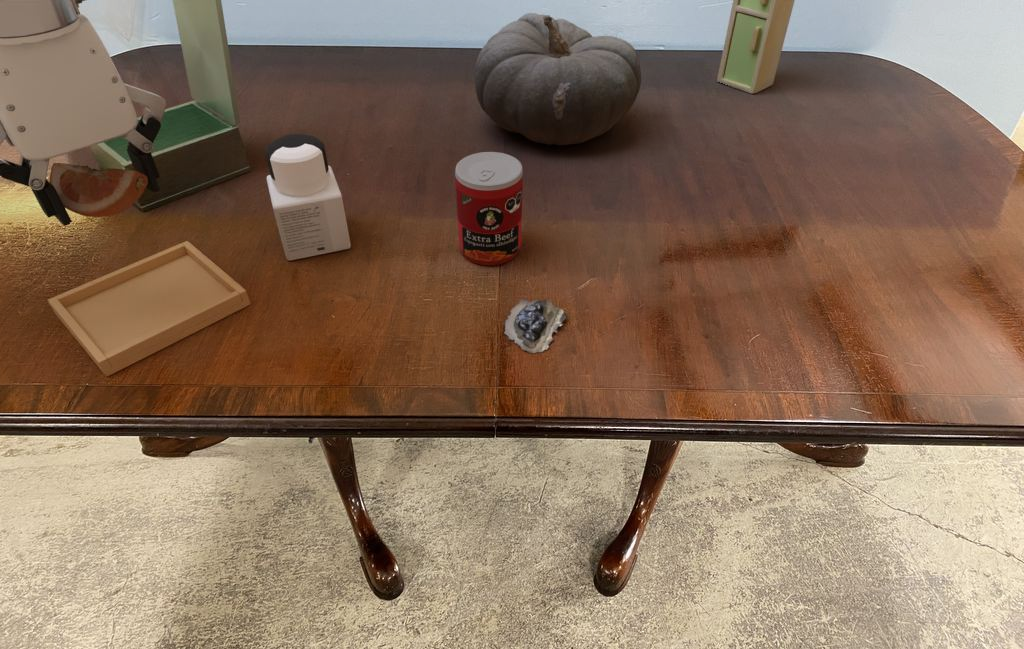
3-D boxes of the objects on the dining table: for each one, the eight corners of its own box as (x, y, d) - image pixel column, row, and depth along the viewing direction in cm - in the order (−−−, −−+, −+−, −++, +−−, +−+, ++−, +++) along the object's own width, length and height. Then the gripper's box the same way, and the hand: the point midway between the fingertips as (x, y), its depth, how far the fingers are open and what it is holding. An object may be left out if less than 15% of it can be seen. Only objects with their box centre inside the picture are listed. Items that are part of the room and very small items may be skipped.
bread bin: (143, 212, 88) (123, 165, 83) (104, 179, 94) (84, 133, 90) (250, 171, 96) (238, 126, 92) (208, 143, 103) (194, 100, 98)
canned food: (458, 267, 79) (453, 185, 72) (459, 230, 85) (455, 151, 78) (522, 267, 79) (524, 185, 72) (519, 229, 85) (521, 150, 78)
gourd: (505, 68, 119) (519, -33, 106) (638, 110, 116) (669, 12, 103) (448, 140, 104) (456, 33, 90) (600, 192, 100) (630, 88, 87)
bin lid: (213, -8, 81) (220, -8, 82) (166, -28, 88) (173, -28, 88) (234, 124, 91) (240, 123, 92) (191, 97, 98) (196, 96, 98)
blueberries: (566, 305, 74) (567, 291, 73) (568, 355, 68) (569, 341, 67) (506, 303, 74) (506, 289, 73) (502, 352, 68) (502, 339, 67)
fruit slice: (169, 198, 68) (152, 153, 64) (132, 235, 63) (112, 188, 59) (93, 192, 69) (72, 147, 65) (50, 227, 64) (26, 181, 60)
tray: (106, 377, 65) (98, 362, 64) (55, 313, 72) (47, 299, 71) (250, 304, 74) (246, 290, 72) (192, 254, 81) (187, 240, 79)
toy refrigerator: (712, 82, 122) (739, -45, 108) (735, 73, 126) (764, -52, 112) (750, 96, 118) (783, -36, 104) (772, 85, 122) (807, -43, 108)
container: (279, 228, 85) (254, 133, 76) (340, 217, 87) (322, 123, 79) (287, 262, 80) (261, 163, 71) (351, 249, 82) (334, 151, 73)
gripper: (112, -20, 60) (176, 159, 71) (-122, 24, 50) (-5, 223, 62) (150, -2, 56) (211, 184, 68) (-97, 49, 46) (23, 256, 58)
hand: (107, 201), depth 65 cm, fingers closed on fruit slice, 7 cm apart
